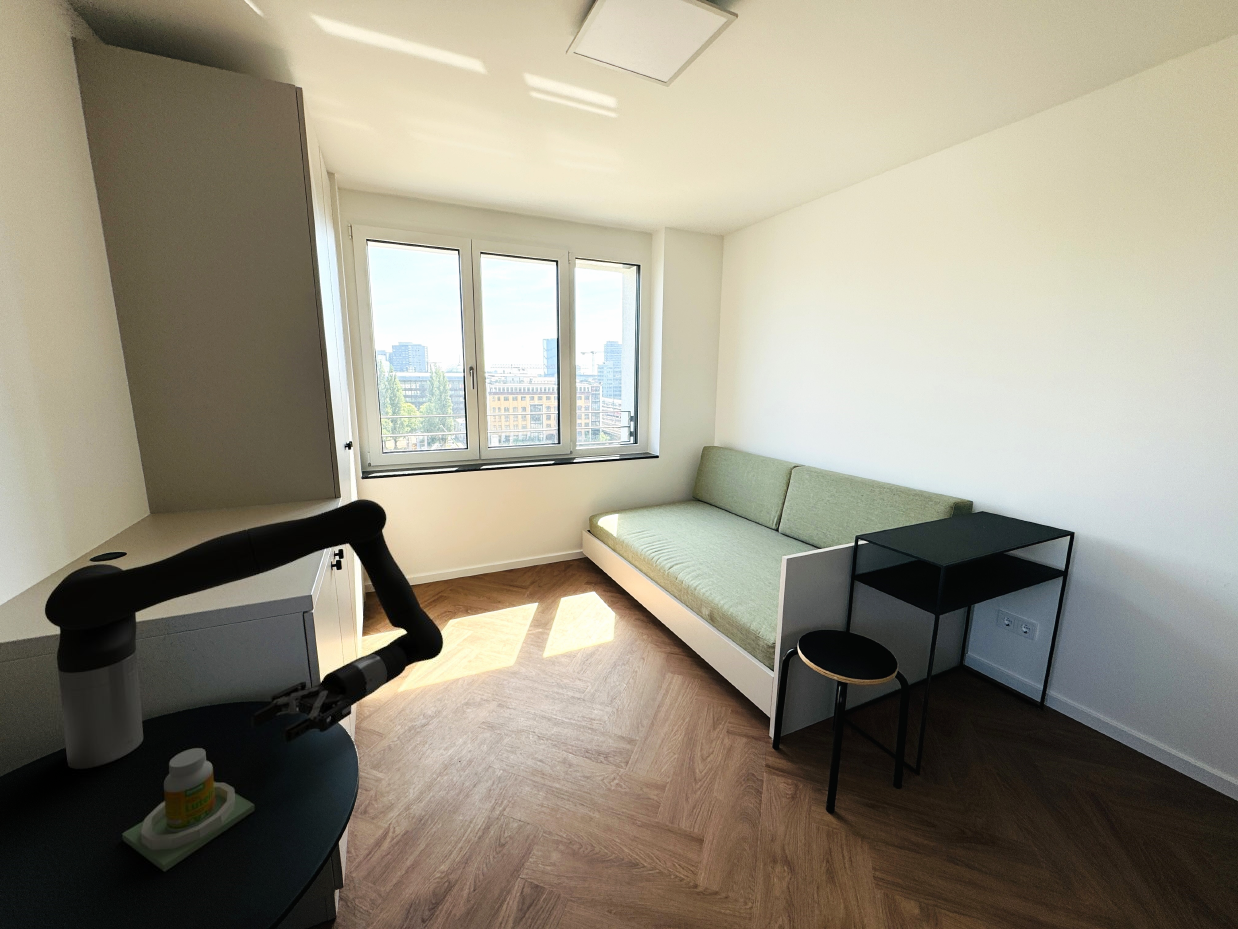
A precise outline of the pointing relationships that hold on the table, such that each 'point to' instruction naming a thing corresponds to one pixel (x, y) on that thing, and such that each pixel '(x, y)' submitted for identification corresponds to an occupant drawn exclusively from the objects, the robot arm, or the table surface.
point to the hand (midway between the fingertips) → (268, 729)
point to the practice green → (176, 846)
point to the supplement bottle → (189, 790)
